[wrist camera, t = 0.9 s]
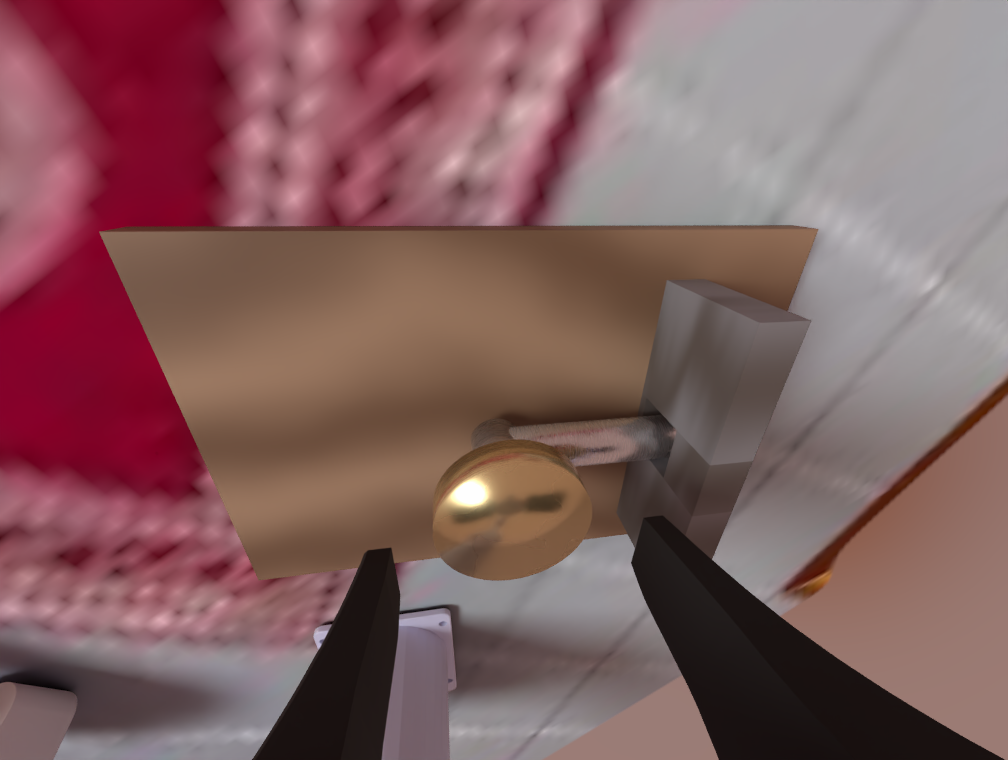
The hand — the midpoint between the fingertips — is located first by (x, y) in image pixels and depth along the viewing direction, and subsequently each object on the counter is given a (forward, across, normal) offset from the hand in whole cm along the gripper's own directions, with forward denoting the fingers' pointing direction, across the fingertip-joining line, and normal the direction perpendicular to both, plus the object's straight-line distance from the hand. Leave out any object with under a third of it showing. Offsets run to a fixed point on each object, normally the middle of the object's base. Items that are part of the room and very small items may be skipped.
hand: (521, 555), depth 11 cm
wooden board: (+8, -1, 0) cm, 8 cm away
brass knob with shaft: (+6, -4, 0) cm, 7 cm away
